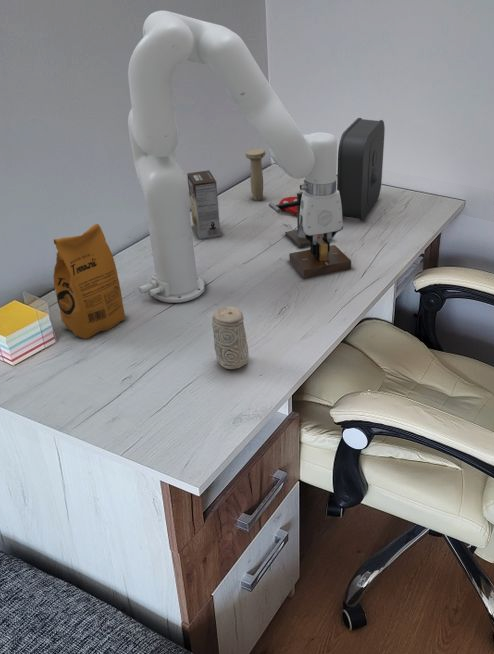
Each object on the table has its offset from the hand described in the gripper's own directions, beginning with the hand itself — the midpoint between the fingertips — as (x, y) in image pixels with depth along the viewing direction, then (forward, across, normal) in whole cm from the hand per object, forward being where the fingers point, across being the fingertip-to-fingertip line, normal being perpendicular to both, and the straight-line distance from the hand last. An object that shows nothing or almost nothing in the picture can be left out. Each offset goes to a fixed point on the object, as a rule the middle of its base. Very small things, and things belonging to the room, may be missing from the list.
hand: (320, 255), depth 170 cm
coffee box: (+3, -21, +32) cm, 38 cm away
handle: (+3, 0, +49) cm, 49 cm away
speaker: (+3, +27, +29) cm, 39 cm away
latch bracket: (+3, +4, +16) cm, 17 cm away
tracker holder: (+3, +9, +36) cm, 38 cm away
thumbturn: (0, 0, 0) cm, 0 cm away
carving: (+3, -34, -33) cm, 47 cm away
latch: (-7, -1, +16) cm, 17 cm away
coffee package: (+3, -57, -6) cm, 58 cm away
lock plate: (+3, 0, 0) cm, 3 cm away
